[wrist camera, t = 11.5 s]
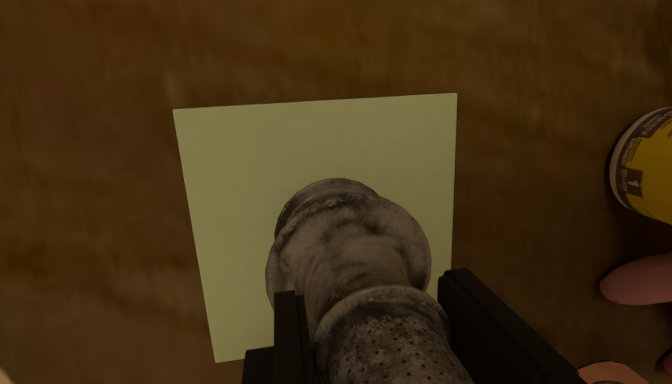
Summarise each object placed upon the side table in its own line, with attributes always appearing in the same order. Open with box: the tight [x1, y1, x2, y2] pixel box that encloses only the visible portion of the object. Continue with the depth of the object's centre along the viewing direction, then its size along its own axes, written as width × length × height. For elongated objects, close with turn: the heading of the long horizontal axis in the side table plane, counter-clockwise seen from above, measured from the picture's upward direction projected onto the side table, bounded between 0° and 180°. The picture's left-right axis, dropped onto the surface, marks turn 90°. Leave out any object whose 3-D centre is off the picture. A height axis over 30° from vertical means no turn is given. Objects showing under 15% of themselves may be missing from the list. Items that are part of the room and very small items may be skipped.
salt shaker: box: [265, 178, 475, 384], centre depth 10 cm, size 6×6×12 cm
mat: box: [173, 93, 457, 363], centre depth 17 cm, size 12×12×1 cm
